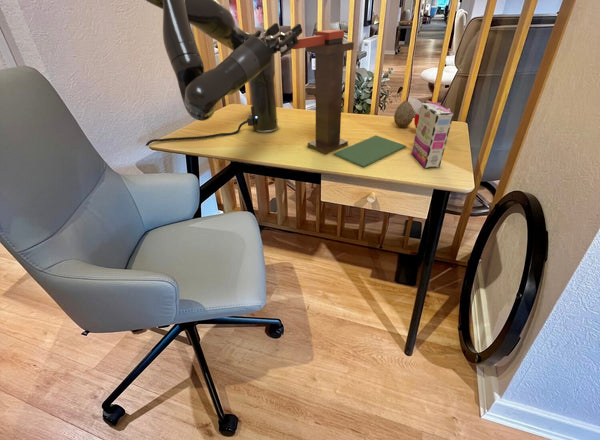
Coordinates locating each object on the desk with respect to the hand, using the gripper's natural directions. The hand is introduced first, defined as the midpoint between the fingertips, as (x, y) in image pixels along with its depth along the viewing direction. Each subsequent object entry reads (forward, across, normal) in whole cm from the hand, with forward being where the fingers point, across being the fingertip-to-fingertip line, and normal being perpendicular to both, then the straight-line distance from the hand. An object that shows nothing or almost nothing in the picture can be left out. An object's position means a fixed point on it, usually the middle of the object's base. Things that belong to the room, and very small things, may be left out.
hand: (288, 27), depth 82 cm
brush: (+5, -3, +7) cm, 9 cm away
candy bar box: (+8, -35, +43) cm, 56 cm away
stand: (-2, -4, +39) cm, 39 cm away
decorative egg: (+29, -15, +51) cm, 61 cm away
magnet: (+26, -27, +51) cm, 63 cm away
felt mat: (+4, -18, +41) cm, 45 cm away
